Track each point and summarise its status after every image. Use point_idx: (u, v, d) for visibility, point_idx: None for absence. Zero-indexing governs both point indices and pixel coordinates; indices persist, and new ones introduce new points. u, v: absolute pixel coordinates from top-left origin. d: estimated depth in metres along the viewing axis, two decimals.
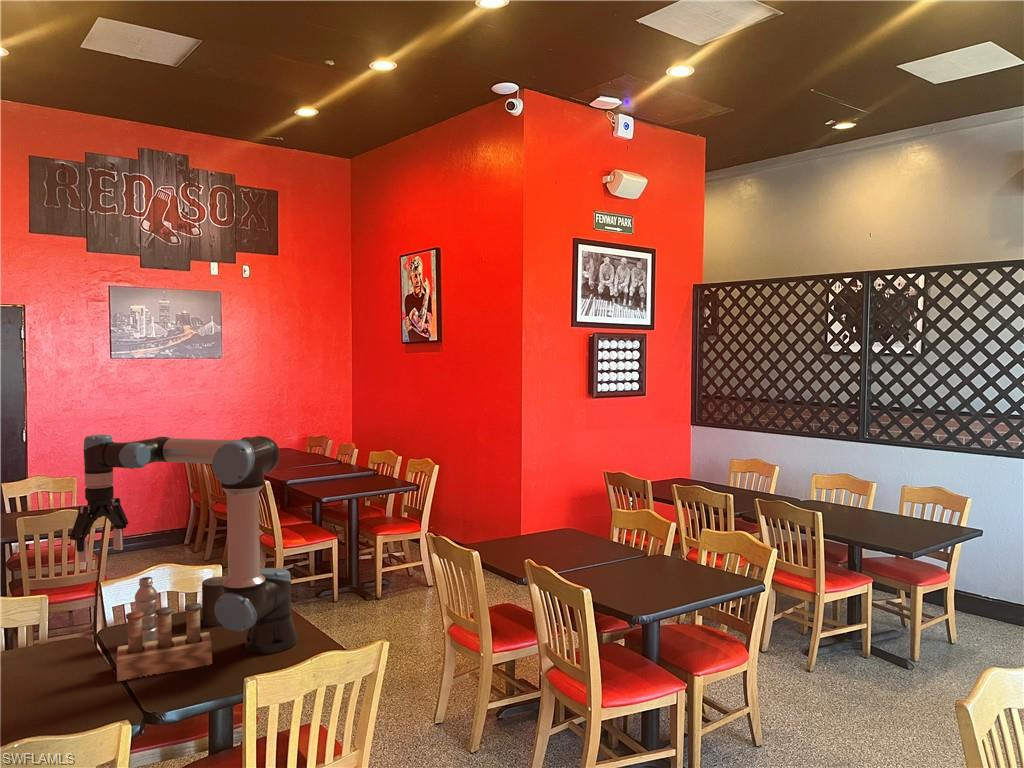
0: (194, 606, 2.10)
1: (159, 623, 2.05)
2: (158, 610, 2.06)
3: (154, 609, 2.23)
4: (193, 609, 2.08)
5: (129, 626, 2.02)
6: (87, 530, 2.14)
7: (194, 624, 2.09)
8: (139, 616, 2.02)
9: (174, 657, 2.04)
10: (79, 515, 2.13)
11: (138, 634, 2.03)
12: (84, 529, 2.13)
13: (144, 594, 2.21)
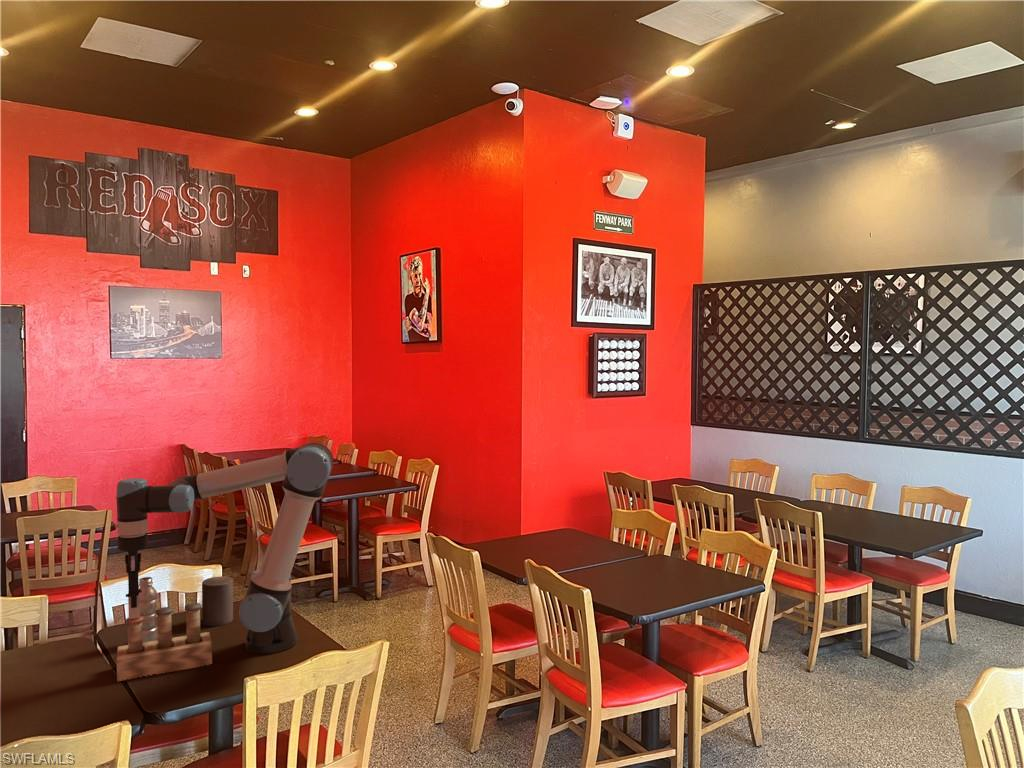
0: (194, 606, 2.10)
1: (159, 623, 2.05)
2: (158, 610, 2.06)
3: (154, 609, 2.23)
4: (193, 609, 2.08)
5: (129, 631, 2.02)
6: None
7: (194, 624, 2.09)
8: (139, 621, 2.03)
9: (174, 657, 2.04)
10: (131, 573, 1.98)
11: (139, 638, 2.03)
12: None
13: (144, 594, 2.21)
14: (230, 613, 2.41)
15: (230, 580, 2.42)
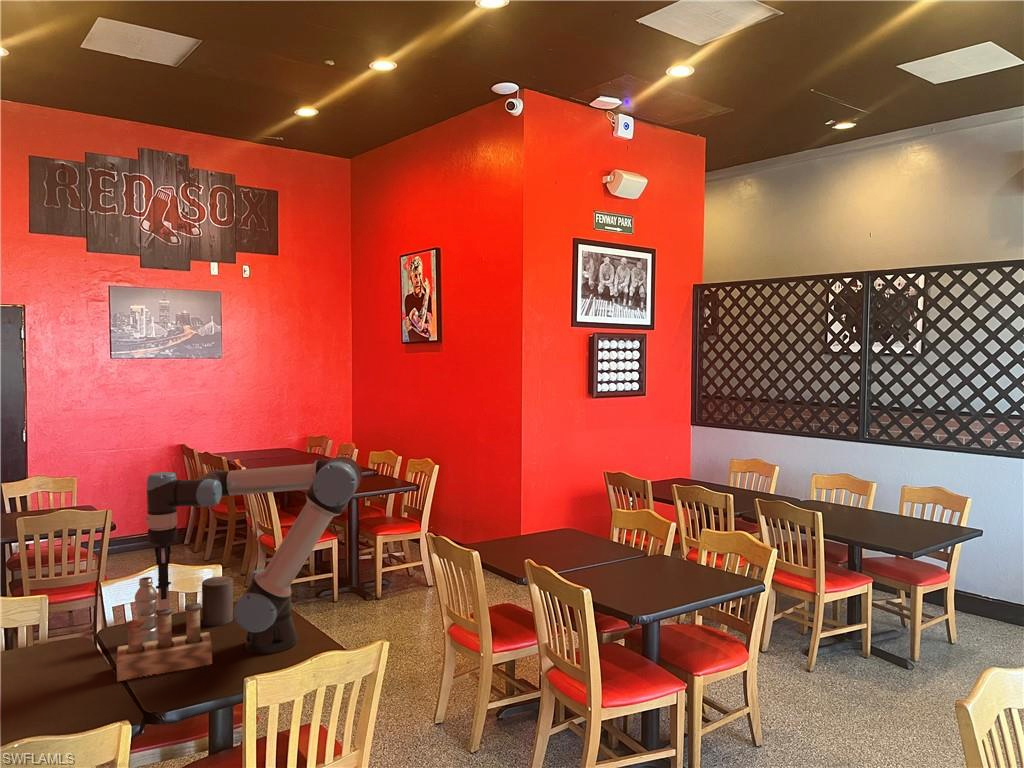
0: (194, 606, 2.10)
1: (159, 623, 2.05)
2: (158, 611, 2.06)
3: (154, 609, 2.23)
4: (193, 609, 2.08)
5: (129, 634, 2.02)
6: None
7: (194, 624, 2.09)
8: (139, 624, 2.03)
9: (174, 657, 2.04)
10: (161, 565, 2.01)
11: (139, 642, 2.03)
12: None
13: (144, 594, 2.21)
14: (230, 613, 2.41)
15: (230, 580, 2.42)
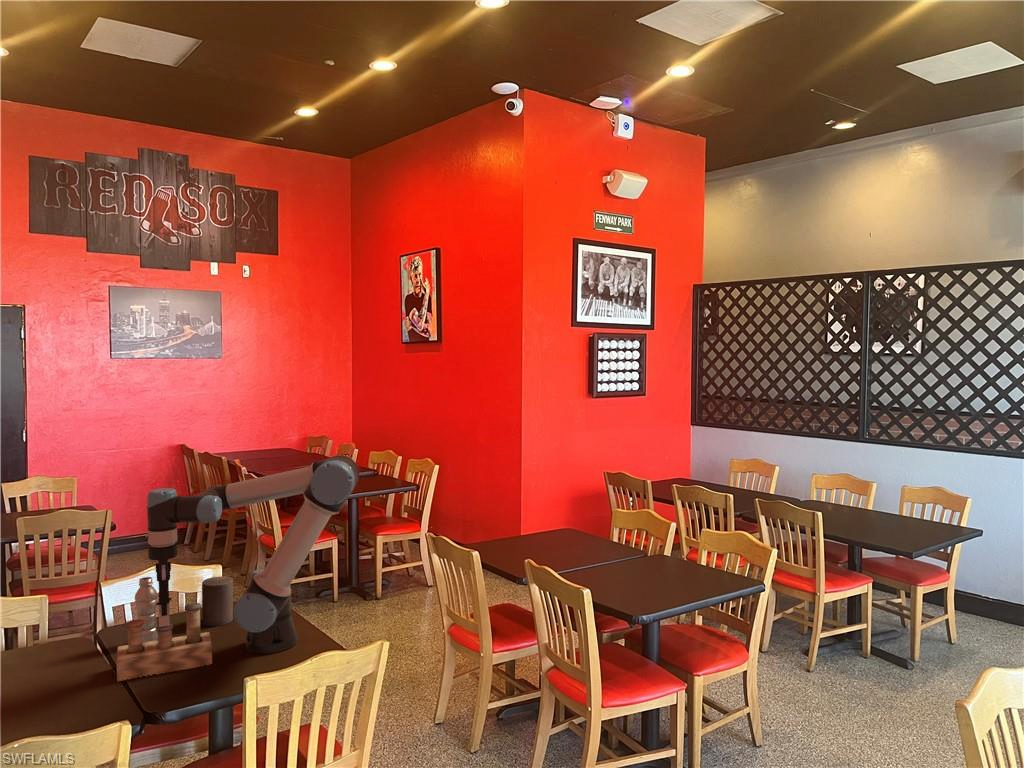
0: (194, 606, 2.10)
1: (159, 639, 2.06)
2: (159, 627, 2.06)
3: (154, 609, 2.23)
4: (193, 609, 2.08)
5: (129, 634, 2.02)
6: None
7: (194, 624, 2.09)
8: (139, 624, 2.03)
9: (174, 657, 2.04)
10: (161, 582, 2.02)
11: (139, 642, 2.03)
12: None
13: (144, 594, 2.21)
14: (230, 613, 2.41)
15: (230, 580, 2.42)
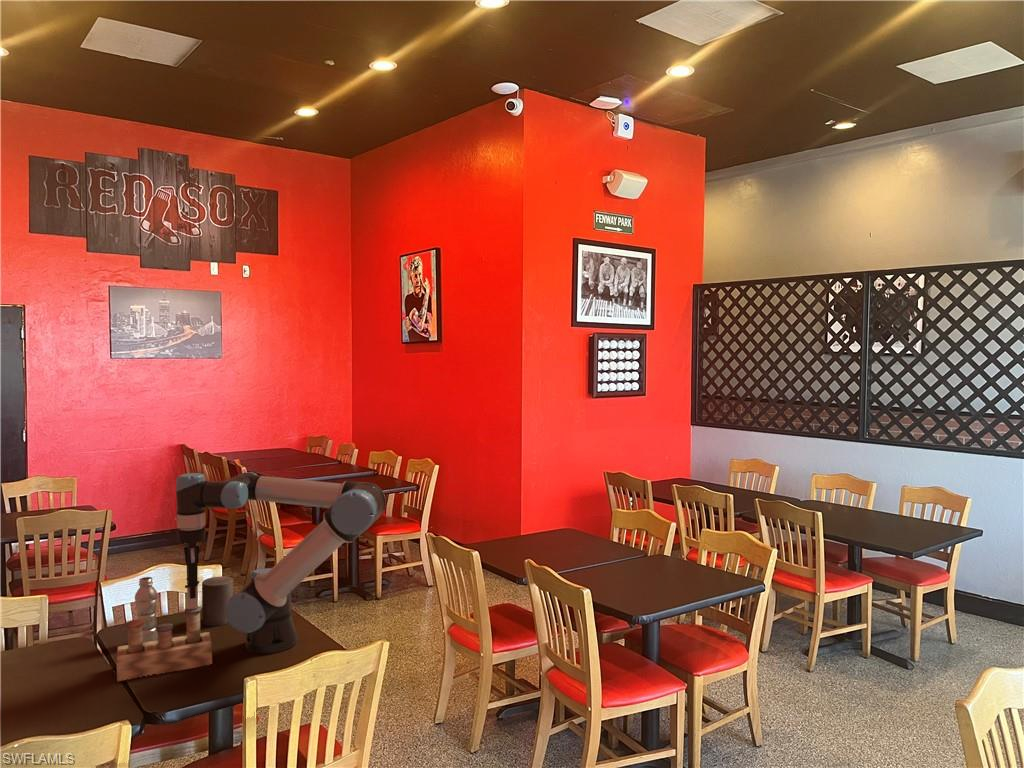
0: (194, 609, 2.10)
1: (159, 639, 2.06)
2: (159, 627, 2.06)
3: (154, 609, 2.23)
4: (193, 612, 2.08)
5: (129, 634, 2.02)
6: None
7: (194, 628, 2.09)
8: (139, 624, 2.03)
9: (174, 657, 2.04)
10: (191, 565, 2.05)
11: (139, 642, 2.03)
12: None
13: (144, 594, 2.21)
14: None
15: (230, 580, 2.42)
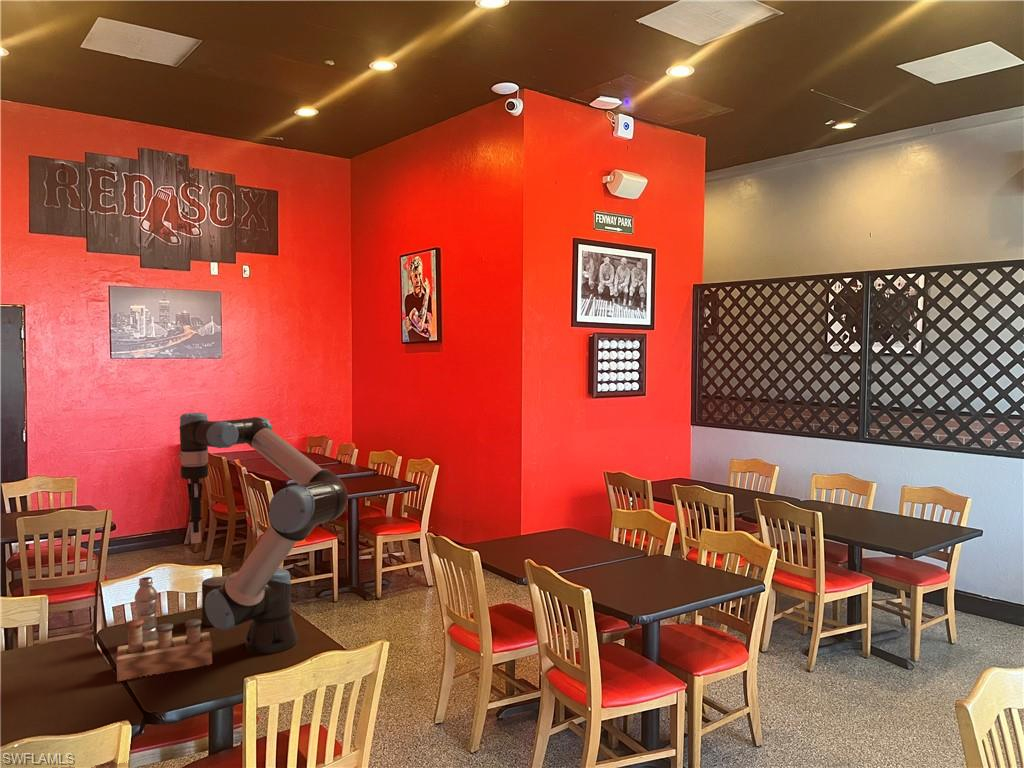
0: (194, 622, 2.10)
1: (159, 639, 2.06)
2: (159, 627, 2.06)
3: (154, 609, 2.23)
4: (193, 625, 2.09)
5: (129, 634, 2.02)
6: None
7: (194, 641, 2.09)
8: (139, 624, 2.03)
9: (174, 657, 2.04)
10: (194, 499, 2.13)
11: (139, 642, 2.03)
12: None
13: (144, 594, 2.21)
14: None
15: None
